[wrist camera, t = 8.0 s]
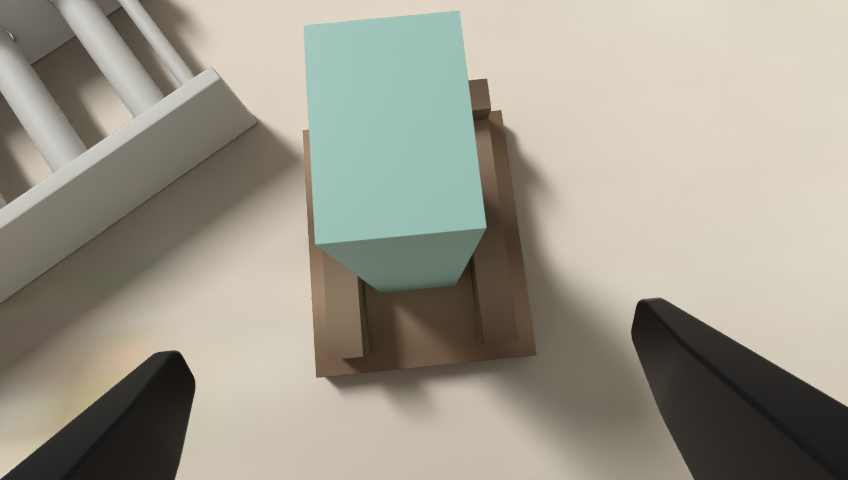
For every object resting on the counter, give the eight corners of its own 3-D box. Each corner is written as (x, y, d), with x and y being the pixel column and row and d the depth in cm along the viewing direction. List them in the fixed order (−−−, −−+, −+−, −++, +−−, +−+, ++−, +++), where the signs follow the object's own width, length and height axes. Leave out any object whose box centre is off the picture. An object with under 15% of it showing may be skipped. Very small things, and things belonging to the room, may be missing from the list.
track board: (530, 353, 22) (554, 359, 18) (322, 375, 22) (296, 385, 18) (497, 120, 25) (512, 76, 20) (308, 139, 25) (282, 99, 20)
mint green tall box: (455, 285, 22) (486, 228, 9) (380, 292, 22) (315, 244, 9) (442, 167, 23) (455, -21, 11) (371, 174, 23) (302, -6, 11)
